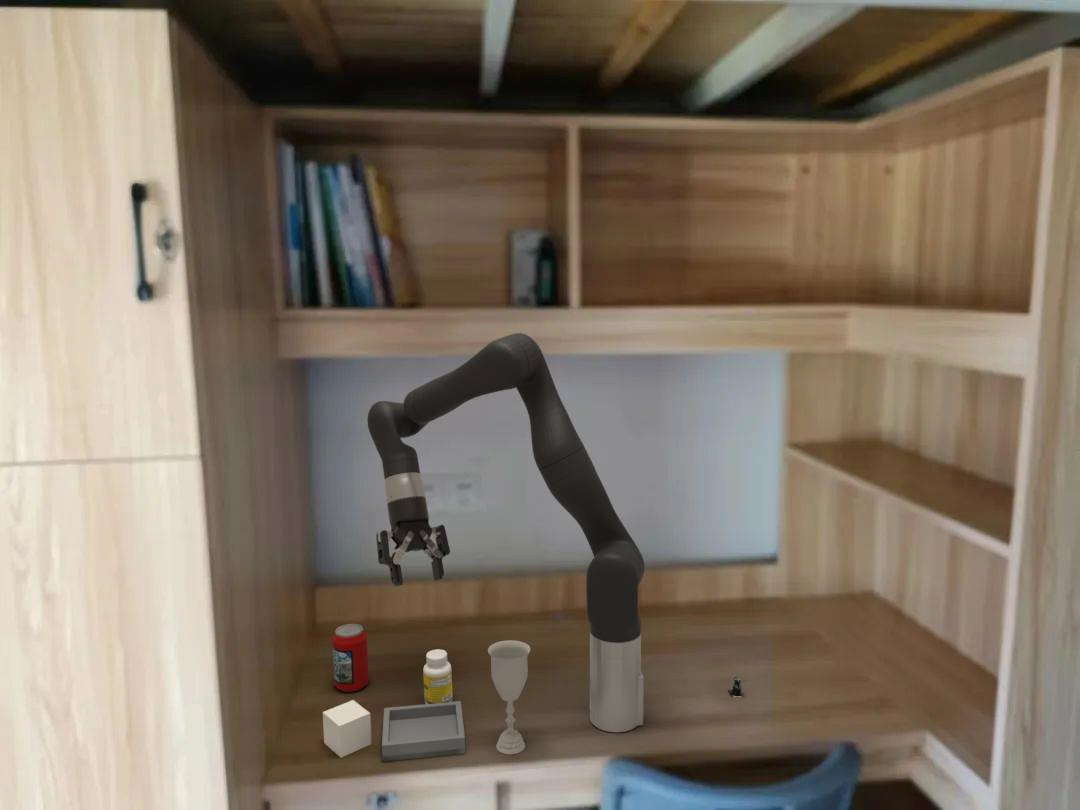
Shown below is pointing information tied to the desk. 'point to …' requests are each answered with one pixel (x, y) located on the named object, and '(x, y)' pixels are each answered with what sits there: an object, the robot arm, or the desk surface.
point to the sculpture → (736, 688)
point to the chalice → (509, 686)
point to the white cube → (347, 728)
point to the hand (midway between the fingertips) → (419, 582)
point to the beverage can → (350, 657)
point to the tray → (423, 731)
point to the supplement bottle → (437, 678)
